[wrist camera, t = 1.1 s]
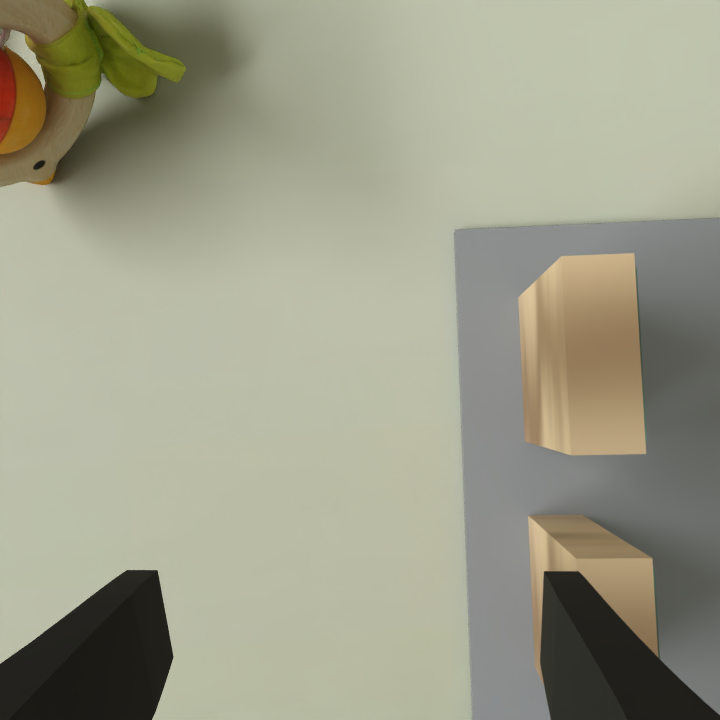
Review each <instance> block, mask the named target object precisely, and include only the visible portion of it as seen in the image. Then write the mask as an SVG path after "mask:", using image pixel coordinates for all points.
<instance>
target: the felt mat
mask: <svg viewBox="0 0 720 720" xmlns="http://www.w3.org/2000/svg"><path fill="white" fill-rule="evenodd" d="M454 240H455V267H456V293H457V320H458V347H459V374H460V401H461V428H462V455H463V481H464V508H465V535H466V562H467V589H468V616H469V643H470V669H471V696H472V720H551V718H550V713H549V708H548V703H547V698H546V693H545V687H544V685H543V683H542V681H541V679H540V677H539V675H538V673H537V671H536V669H535V658H534V635H533V613H532V591H531V568H530V546H529V524H528V515H583V516H585V517H587V518H588V519H590V520H592V521H593V522H595V523H596V524H598V525H600V526H601V527H603V528H604V529H606V530H608V531H609V532H611V533H612V534H614V535H616V536H617V537H619V538H621V539H622V540H624V541H625V542H627V543H629V544H630V545H632V546H633V547H635V548H637V549H638V550H640V551H642V552H643V553H645V554H646V555H648V556H650V557H651V558H652V560H653V567H654V568H655V583H656V600H657V617H658V634H659V651H660V660H661V661H662V662H663V663H664V664H665V665H666V666H667V667H668V668H669V669H670V670H671V671H672V672H673V673H674V674H676V675H677V676H678V677H679V678H680V679H681V680H682V681H683V682H684V683H685V684H686V685H687V686H688V687H689V688H690V689H691V690H692V691H694V692H695V693H696V694H697V695H698V696H699V697H700V698H701V699H702V700H703V701H704V702H705V703H706V704H708V705H709V706H710V707H711V708H712V709H713V710H714V711H716V712H717V713H718V714H719V715H720V218H704V219H682V220H660V221H638V222H616V223H593V224H571V225H549V226H527V227H505V228H483V229H461V230H455V232H454ZM625 253H634V256H635V267H637V280H638V297H639V314H640V331H641V347H642V364H643V381H644V398H645V415H646V432H647V441H645V442H646V454H622V455H568V454H565V453H561V452H558V451H555V450H551V449H548V448H545V447H542V446H538V445H535V444H532V443H528V442H525V434H524V412H523V390H522V367H521V345H520V323H519V300H518V297H519V296H520V295H521V294H522V293H523V292H524V291H525V290H526V289H527V288H529V287H530V286H531V285H532V284H533V283H534V282H535V281H536V280H537V279H538V278H539V277H540V276H541V275H542V274H543V273H544V272H545V271H546V270H547V269H548V268H549V267H550V266H551V265H552V264H554V263H555V262H556V261H557V260H558V259H559V258H560V257H561V256H577V255H601V254H625Z"/></svg>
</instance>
